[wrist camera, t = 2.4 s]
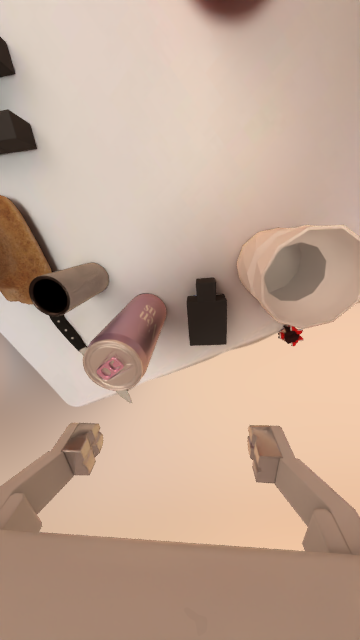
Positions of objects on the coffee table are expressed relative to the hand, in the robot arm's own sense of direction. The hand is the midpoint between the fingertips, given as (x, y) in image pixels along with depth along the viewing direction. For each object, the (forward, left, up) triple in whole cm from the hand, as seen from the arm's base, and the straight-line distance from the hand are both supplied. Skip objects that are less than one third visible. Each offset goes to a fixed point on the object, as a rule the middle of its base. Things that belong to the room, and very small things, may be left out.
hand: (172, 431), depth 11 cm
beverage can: (+6, +1, -22) cm, 23 cm away
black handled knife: (+18, +10, -21) cm, 29 cm away
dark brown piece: (-3, +1, -22) cm, 22 cm away
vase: (-11, -5, -22) cm, 25 cm away
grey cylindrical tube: (+14, -5, -22) cm, 27 cm away
